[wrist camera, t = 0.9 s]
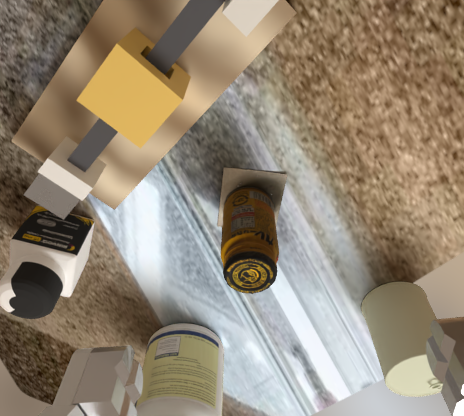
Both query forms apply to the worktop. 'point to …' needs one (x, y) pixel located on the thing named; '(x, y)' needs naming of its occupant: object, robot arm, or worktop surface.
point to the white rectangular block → (71, 170)
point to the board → (191, 61)
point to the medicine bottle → (44, 262)
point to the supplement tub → (182, 373)
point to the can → (402, 337)
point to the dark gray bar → (161, 56)
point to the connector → (51, 196)
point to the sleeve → (134, 90)
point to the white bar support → (247, 12)
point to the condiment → (250, 227)
